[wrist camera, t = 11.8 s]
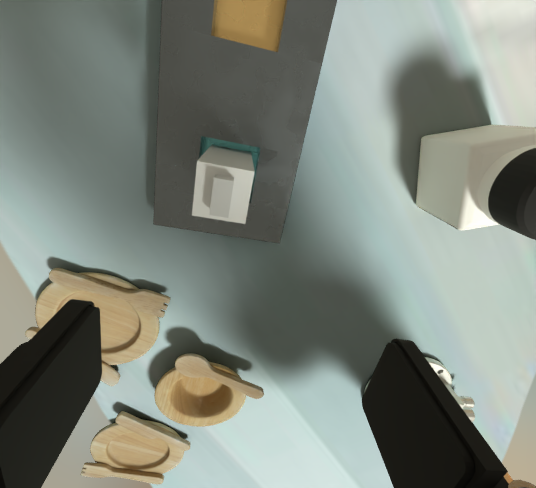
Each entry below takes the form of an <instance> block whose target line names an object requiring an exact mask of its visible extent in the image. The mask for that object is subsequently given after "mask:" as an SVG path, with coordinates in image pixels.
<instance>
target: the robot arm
mask: <svg viewBox="0 0 536 488" xmlns="http://www.w3.org/2000/svg"><path fill="white" fill-rule="evenodd" d="M101 376H102V354H101V324H100V309H99V307H95V305H94V303H93V302H92V301H84V300H76V299H71V300H69V301H68V302H67V303H66V304H65V305H64V306H63V307H62V308H61V309H60V310H59V311H58V312H57V313H56V314H55V315H54V316H53V317H52V318H51V319H50V320H49V321H48V322H47V323H46V324H45V325H44V326H43V327H42V328H41V329H40V330H39V331H38V332H37V333H36V334H35V335H34V336H33V337H32V338H31V339H30V340H29V341H28V342H26V343H23V344H21V345H20V346H19V347H17V348H16V349H15V350H14V351H13V352H12V353H11V354H10V355H9V356H8V357H7V358H6V359H5V360H4V361H3V362H2V363H1V364H0V488H41V487H42V485H43V483H44V481H45V479H46V478H47V476H48V474H49V472H50V470H51V468H52V467H53V465H54V463H55V461H56V460H57V458H58V456H59V454H60V453H61V451H62V449H63V447H64V446H65V444H66V442H67V440H68V438H69V437H70V435H71V433H72V431H73V429H74V428H75V426H76V424H77V422H78V420H79V419H80V417H81V415H82V413H83V412H84V410H85V408H86V406H87V404H88V403H89V401H90V399H91V397H92V396H93V394H94V392H95V390H96V388H97V387H98V385H99V383H100V380H101ZM451 385H452V378H451V376H450V373H449V372H448V370H447V369H446V368H445V366H444V365H442V364H441V363H440V362H439V361H437V360H435V359H432V358H428V357H424V356H423V354H422V353H421V351H420V350H419V349H418V347H417V346H416V345H415V343H414V342H412V341H409V340H401V339H394V340H392V341H391V343H388V344H387V345H386V347H385V349H384V352H383V354H382V356H381V358H380V360H379V362H378V365H377V367H376V369H375V371H374V373H373V375H372V377H371V379H370V380H369V382H368V384H367V385H366V388H365V391H364V395H363V397H362V406H363V409H364V412H365V415H366V417H367V420H368V422H369V425H370V427H371V430H372V433H373V435H374V438H375V440H376V443H377V445H378V448H379V451H380V453H381V456H382V458H383V461H384V463H385V466H386V469H387V471H388V474H389V476H390V479H391V481H392V484H393V487H394V488H536V486H535V485H533V484H531V483H529V482H526V481H522V480H513V479H512V478H511V476H510V475H509V474H508V471H507V470H506V468H505V467H504V466H503V464H502V463H501V461H500V460H499V459H498V457H497V456H496V455H495V453H494V452H493V450H492V449H491V448H490V446H489V445H488V444H487V442H486V441H485V439H484V438H483V437H482V435H481V434H480V433H479V431H478V430H477V428H476V427H475V426H474V424H473V423H472V422H473V421H474V419H475V415H474V412H473V410H472V409H471V408H472V407H474V401H473V399H472V398H471V397H464V396H461V397H458V396H457V394H456V393H455V392H454V390H453V389H452V388H451Z"/></svg>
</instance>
